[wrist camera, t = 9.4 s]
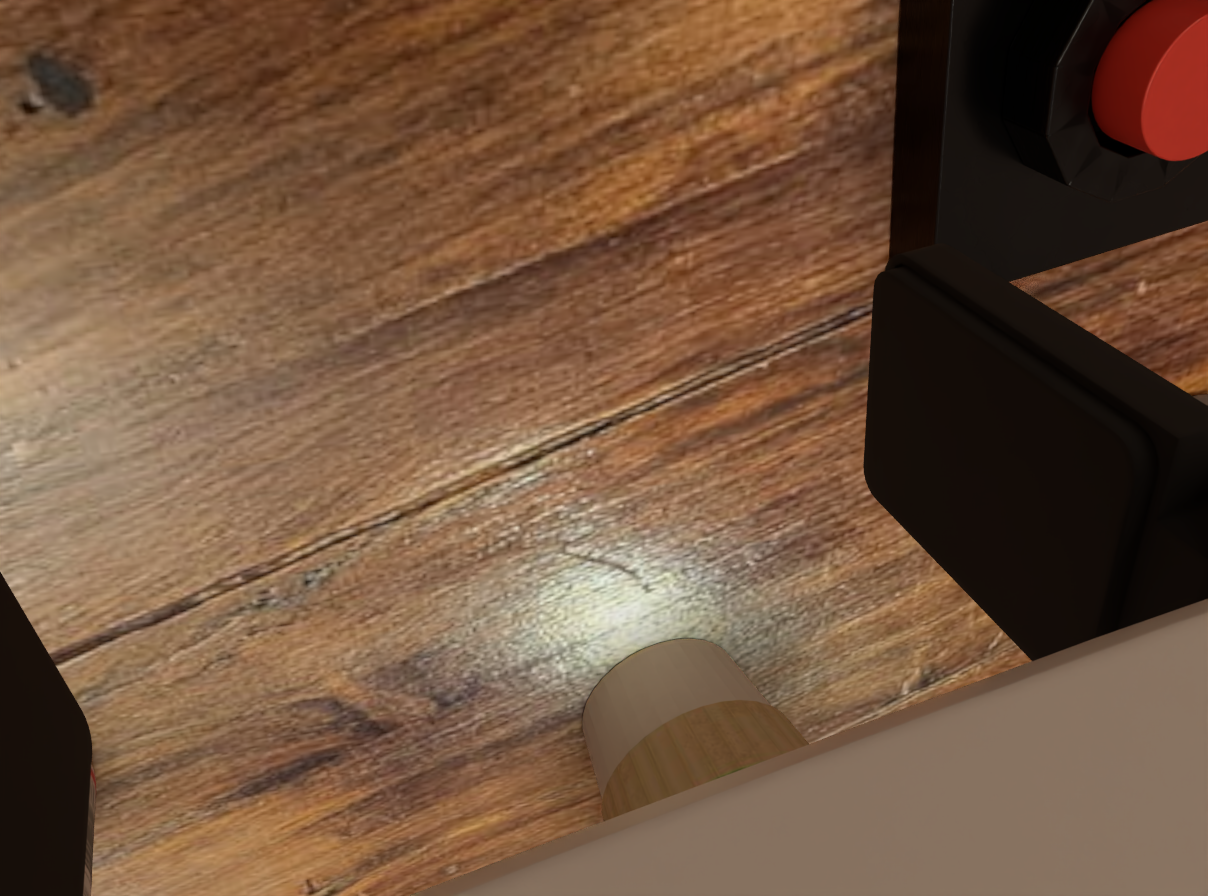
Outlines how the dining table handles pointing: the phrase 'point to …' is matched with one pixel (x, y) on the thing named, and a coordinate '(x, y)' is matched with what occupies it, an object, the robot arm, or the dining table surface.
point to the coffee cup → (677, 724)
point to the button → (1157, 80)
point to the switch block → (1022, 139)
